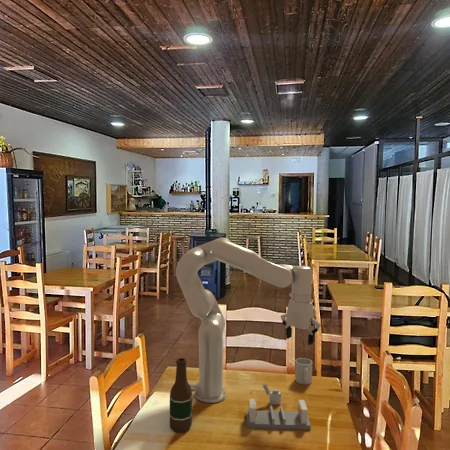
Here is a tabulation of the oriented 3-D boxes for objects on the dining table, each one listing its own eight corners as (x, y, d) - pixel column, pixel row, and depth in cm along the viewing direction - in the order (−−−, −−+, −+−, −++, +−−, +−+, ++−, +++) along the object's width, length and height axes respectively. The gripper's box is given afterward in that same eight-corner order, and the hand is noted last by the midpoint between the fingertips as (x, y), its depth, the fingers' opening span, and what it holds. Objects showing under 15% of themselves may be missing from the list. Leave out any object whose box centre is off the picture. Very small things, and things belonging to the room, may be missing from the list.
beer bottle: (182, 436, 135) (183, 365, 134) (164, 428, 139) (165, 360, 138) (196, 425, 142) (197, 358, 140) (179, 418, 146) (179, 353, 144)
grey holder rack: (247, 427, 141) (247, 409, 140) (246, 414, 150) (246, 397, 149) (310, 429, 140) (311, 411, 140) (305, 415, 149) (306, 398, 149)
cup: (309, 377, 182) (310, 358, 181) (314, 388, 172) (315, 367, 171) (293, 377, 182) (294, 357, 181) (297, 387, 172) (298, 367, 171)
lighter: (279, 402, 159) (280, 382, 158) (280, 404, 157) (281, 384, 157) (261, 402, 159) (262, 382, 158) (262, 404, 157) (262, 384, 156)
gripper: (277, 295, 160) (275, 338, 161) (316, 303, 149) (315, 349, 150) (287, 292, 166) (285, 333, 167) (326, 300, 155) (324, 343, 156)
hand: (299, 340), depth 159 cm, fingers open, 9 cm apart
